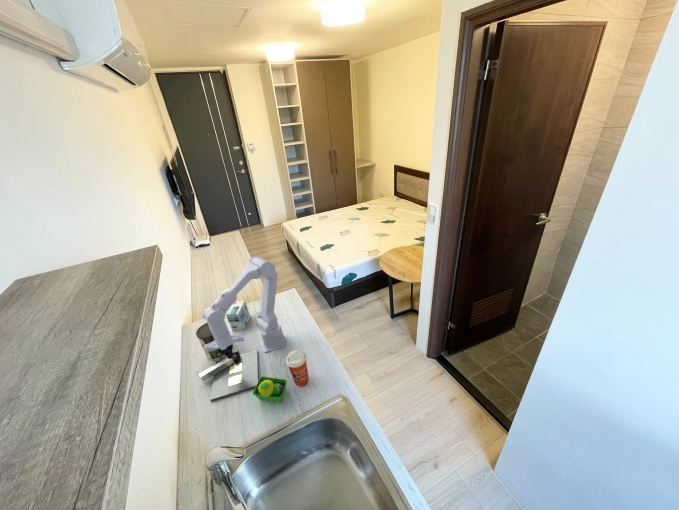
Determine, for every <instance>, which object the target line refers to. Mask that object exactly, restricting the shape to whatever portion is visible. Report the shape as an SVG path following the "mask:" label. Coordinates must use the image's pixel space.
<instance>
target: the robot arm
mask: <svg viewBox="0 0 679 510" xmlns="http://www.w3.org/2000/svg"><path fill="white" fill-rule="evenodd" d="M261 277H262V278H263V285H262V298H261V309H260V311H259V312H257V316H256V318H255V323H254V324H255V325H256V327H258V328H259V332H260V335H261V338H262V341H263V350H264V353H268V352H271V351H274V350H280V349H283V348H285V347H286V341H285V339H286V338H285V335H284V332H283V329H282V328H283V327H282V325H279V324H278V317H277V315H276V314H275V303H276V295H277V293H276V292H277V283H278V272H277V270H276V265H275V264H274V263H273V262H271V261H268V260H266V259H265V258H262V257H261V256H259V255H254V256H252V257H251V258H250V259H249V260H248V261H247V262H246V263H245V265H244V268H243V271H242V272H241V273H240V274H239V276H238V277H237V279H236V280H235V281H234V282H233V284H232V285H231V286H230V287H229V289H225V290H223V291H222V292H220V293H219V296H218V297H217V298H216V299H215V301H214V302H213V303H211V305H209V306H207V307H206V308H205V309H204V310H203V311H202V312H203V313H202V316H201V317H202V318H203V319H204V320H205V321H206V323H208V325H209V328H210V330H211V332H212V335H213V337H214V339H215V341H213V342H211V343H208V344H206V345H205V350H206V351H209V349H216V348H219V352H220V353H222V354H224V355H225V356H224V357H226V358H229V359H232V358H233V353H232V351H233V348H234V344H236V343H238V342H239V343H240V342H242V343H243V342H245V336H244V334H237V335H236V334H235V335H233V334H232V335H231V334H230V330H229V328H228V326H227V323H226V321H225V318H226V313H227V312H228V310H229V308H230V307H231V306H232V304H233V303H234V302H235V301H238V300H237V299H238V297H237V296H238V294H239V293H240V292H241V291H242V290H243V288H245V286H246V285H247V284H248V283H249V282H251V280H257V279H261Z"/></svg>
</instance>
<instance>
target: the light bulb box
mask: <svg viewBox="0 0 679 510" xmlns="http://www.w3.org/2000/svg"><path fill="white" fill-rule="evenodd" d="M225 317H226V318H227V321H228V323H229V326H230V328H231V331H245V329H246V327H247V324H248V322H249V321H250V318H251V314H250V311H249V307H248V306H247V302H246V300H236V301H235V302H234V303H233V304H232V306H231V307H230V308H229V309H228V310H227V311H226V314H225Z"/></svg>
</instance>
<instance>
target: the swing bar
mask: <svg viewBox="0 0 679 510" xmlns="http://www.w3.org/2000/svg"><path fill="white" fill-rule="evenodd" d="M223 359H224V360H222V359H221V360H222V361H221V362H219V363H217V364H216V365H215V364H214V365H212V366H211V367H208V368H207V369H205V370H204V371H201V372H200V373H198V375H199V377H200V380H201V381H202V382H203V383H204V382H205V381H207V380H208V379H210V378H213V377H214V375H215V374H217V373H219V372H220V371H222V370H224V369H225V368H227V367H229V366H230V365H232V364H234V363H233V360H234V362H237V361H238V360H239V359H238V356H237V354H233V360H232V359H229V358H228V357H225V358H223Z"/></svg>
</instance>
